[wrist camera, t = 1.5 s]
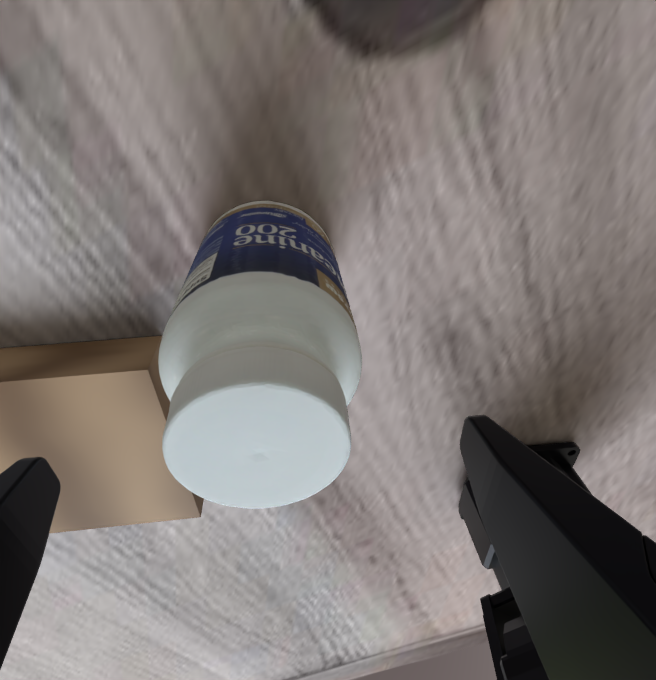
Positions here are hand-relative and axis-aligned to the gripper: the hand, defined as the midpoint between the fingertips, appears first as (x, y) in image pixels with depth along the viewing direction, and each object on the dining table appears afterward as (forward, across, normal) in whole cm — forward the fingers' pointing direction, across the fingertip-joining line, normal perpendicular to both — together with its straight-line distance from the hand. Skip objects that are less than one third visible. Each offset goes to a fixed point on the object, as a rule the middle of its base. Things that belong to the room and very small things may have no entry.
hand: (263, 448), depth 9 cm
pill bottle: (+10, 0, 0) cm, 10 cm away
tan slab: (+10, +10, +8) cm, 16 cm away
